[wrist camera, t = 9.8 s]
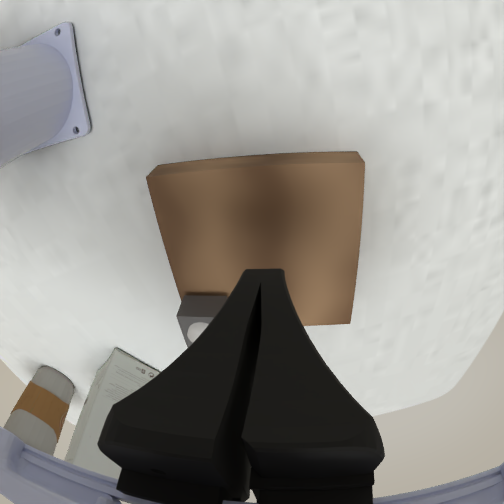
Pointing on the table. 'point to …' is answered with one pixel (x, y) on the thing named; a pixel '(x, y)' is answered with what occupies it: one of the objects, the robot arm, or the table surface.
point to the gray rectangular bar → (197, 314)
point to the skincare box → (105, 410)
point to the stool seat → (265, 225)
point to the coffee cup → (42, 410)
